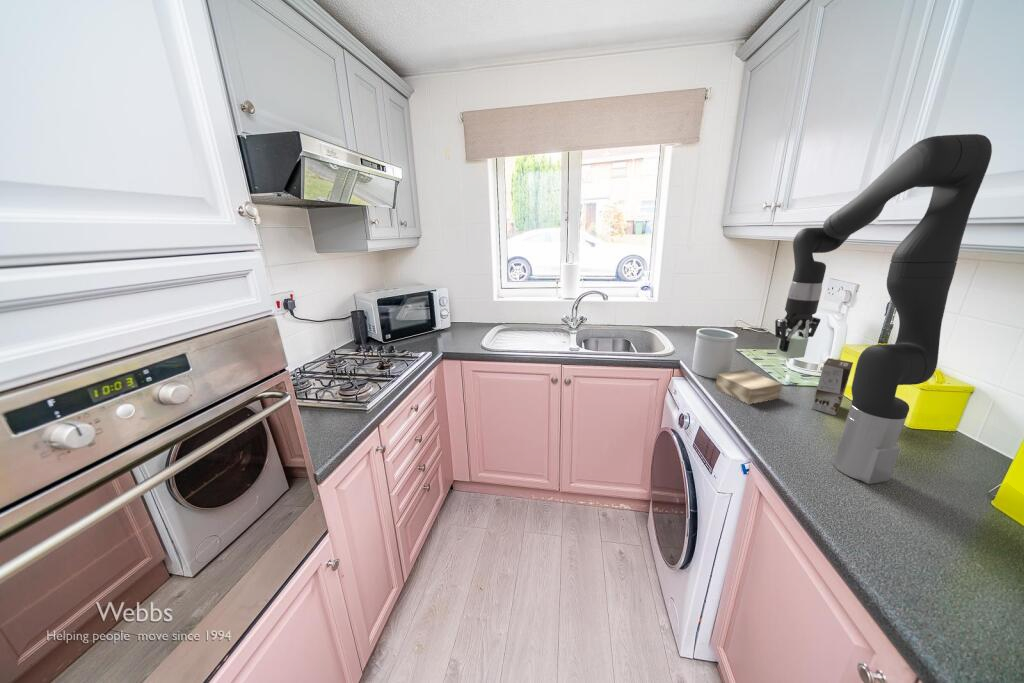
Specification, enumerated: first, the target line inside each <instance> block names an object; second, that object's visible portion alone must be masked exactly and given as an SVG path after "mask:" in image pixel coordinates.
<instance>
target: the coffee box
mask: <svg viewBox="0 0 1024 683" xmlns="http://www.w3.org/2000/svg"><path fill="white" fill-rule="evenodd" d="M853 364H854V362H852V361H847V360H842V359H835V358H830V357H829V358H827V359H826V361H825V362H824V363H823V366H822V370H821V373H820V377H819V381H818V384H817V387H816V390H815V395H814V399H813V402H812V406H811V410H815V411H819V412H822V413H826V414H829V415H832V416H836V415H837V413H838V411H839V409H840V407H841V404H842V401H843V397H844V394H845V391H846V388H847V385H848V382H849V377H850V375H851V370H852V368H853Z"/></svg>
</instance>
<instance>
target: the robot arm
mask: <svg viewBox="0 0 1024 683" xmlns="http://www.w3.org/2000/svg"><path fill="white" fill-rule="evenodd" d="M992 153H993V146H992V142H991V141H990V139H989V138H988V137H987V136H986V135H983V134H979V133H968V134H946V135H934V136H929V137H927V138H926V137H925V138H923V139H920V140H919V141H918V142H916V143H915V144H913V145H912V146H910V147H909V148H907V150H906V151H904V152H903V153H902V154H901V155H900V156H899V157H898V158H896V159H895V160H894V161H893V162H892V163H891V164H890V165H889V166H888V167H887V168H885V170H884V171H883V172H882V173H881V174H879V176H878V177H876V179H874V181H872V182H871V183H870V184H869V185H868V186H867V187H866V188H864V190H863V191H862V192H861V193H859V194H858V195H857V196H855V197H854V198H853V199H852V200H850V201H849V202H848V203H847V204H845V205H844V206H842V207H840V208H839V209H837V210H836V211H835V212H833V213H832V214H831V215H830V216H828V217H827V218H826V219H825V220H824V222H823V225H822V227H805V228H803V229H800V230H799V231H798V232H797V233H796V234H795V235H794V238H793V240H792V250H793V260H794V271H793V276H792V281H791V284H790V287H789V289H788V293H787V298H786V302H785V307H784V311H785V312H786V315H785V317H783V319H778V318H777V319H775V321H774V324H775V334H774V337H776V338H778V339H779V338H780V339H781V341H780V346H779V349H780V350H781V351H783V352H787V351H788V347H789V342H790V341H789V340H790V339H791V337H792V335H793V334H794V335H796V333H797V336H801V337H804V338H807V339H808V340H809V338H810V337H811V338H813V337H814V336H815V333H816V331H817V329H818V326H819V325H820V323H821V318H818V317H815V316H813V315H815V314H816V313H817V311H818V308H819V303H820V299H821V294H822V290H823V283H824V279H825V275H826V271H827V270H826V269H827V265H826V263H825V262H823V261H817V260H815V259H814V255H813V254H823V253H824V254H825V253H830V252H833V251H835V250H837V249H838V248H840V247H841V246H842V245H843V244H844V243H845V242H846V241H847V240H848V238H850V236H851V235H853V234H855V233H856V232H858V231H860V230H862V229H863V228H865V227H867V226H868V225H870V224H871V223H872V222H873V221H875V220H876V219H877V218H878V217H879V216H880V215H881V213H882V212H883V210H884V208H885V205H886V203H888V201H890V200H892V199H893V198H895V197H896V196H898V195H900V194H902V193H904V192H906V191H909V190H911V189H913V188H932V192H931V196H930V200H929V204H928V207H927V209H926V212H925V214H924V215H923V217H922V219H920V221H919V222H918V224H916V226H915V227H914V228H913V229H912V230H911V231H910V232H909V233H908V234H907V236H906V237H905V238H903V240H902V241H901V242H900V243H899V245H897V247H896V249H894V252H893V254H892V255H891V259H890V264H889V267H888V268H889V269H888V273H887V277H886V291H887V292H888V295H889V297H890V299H891V301H892V304H893V306H894V308H895V310H896V313H897V314H898V315H897V316H898V320H899V322H898V323H899V325H898V326H899V327H898V333H897V337H896V340H895V342H894V343H893V344H892V343H891V344H888V343H885V344H883V343H882V344H874V345H870V346H868V347H866V348H865V349H864V350H862V352H861V353H860V355H859V357H858V359H857V362H856V367H855V370H854V375H853V379H852V383H851V388H850V389H851V395H852V399H851V403H850V406H849V410H848V412H847V416H846V419H845V422H844V425H843V429H842V432H841V436H840V439H839V440H838V441H839V442H838V445H837V448H836V452H835V455H834V458H833V462H832V463H833V466H834V467H835V468H836V469H837V470H838V471H839V472H840V473H842V474H844V475H846V476H848V477H850V478H853V479H856V480H859V481H861V482H863V483H865V484H866V485H872V484H878V483H879V484H880V483H884V482H889V481H890V478H891V477H892V476H891V475H892V473H893V470H894V467H895V464H896V462H897V460H898V456H899V455H900V454H899V453H900V451H901V446H900V445H897V444H898V441H899V439H900V436H901V433H902V430H903V428H904V425H905V423H906V420H907V418H908V414H909V412H910V405H909V403H907V402H906V401H905V400H903V399H902V398H900V397H897V396H896V393H897V390H898V386H907V385H909V386H911V385H912V386H913V385H918V384H919V385H920V384H924V383H925V382H927V381H929V380H930V379H931V378H932V377H933V375H934V374H935V372H936V369H937V365H938V360H939V352H940V351H939V350H940V340H941V332H942V322H943V318H944V314H945V310H946V305H947V301H948V296H949V295H948V294H949V292H950V288H951V284H952V281H953V279H954V275H955V271H956V267H957V264H958V258H959V253H960V249H961V244H962V240H963V237H964V234H965V232H966V231H965V230H966V228H967V224H968V221H969V217H970V214H971V211H972V207H973V205H974V203H975V200H976V197H977V195H978V193H979V190H980V188H981V186H982V184H983V180H984V178H985V176H986V173H987V171H988V168H989V165H990V161H991V157H992ZM786 335H787V336H786Z"/></svg>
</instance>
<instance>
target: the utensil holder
mask: <svg viewBox="0 0 1024 683" xmlns="http://www.w3.org/2000/svg"><path fill="white" fill-rule="evenodd" d="M695 334H696V338H695V344H694V349H693V350H694V351H693V356H692V359H693V360H692V364H691V370H692V372H693V373H694V374H696V375H698V376H701V377H705V378H709V379H717V375H718V374H722V373H728V372H731V371H730V370H731V367H732V364H733V363H732V362H733V358H734V353H735V349H736V346H737V345H736V344H737V340H738V339H739V335H738V334H737V333H735V331H734V332H733V331H731V330H728V329H722V328H715V327H713V328H712V327H704V328H702V327H701V328H699V329H697V330H696V333H695Z"/></svg>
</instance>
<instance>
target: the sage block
mask: <svg viewBox="0 0 1024 683" xmlns="http://www.w3.org/2000/svg"><path fill="white" fill-rule="evenodd" d="M787 335H788V334H786V336H787ZM780 341H781V339H780V338H778V342H777V346H776V352H775V353H776V354H777V355H780V356H783V357H785V358H787V359H800V358H805V356H806V350H807V346H808V342H809V338H808V339H807V338H804V337H801V336H798V334H793V335H792V337H791V339H790V340H789V341H790V342H789V347H788V351H787V352H783V351H781V350H780V349H779V346H780Z"/></svg>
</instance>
